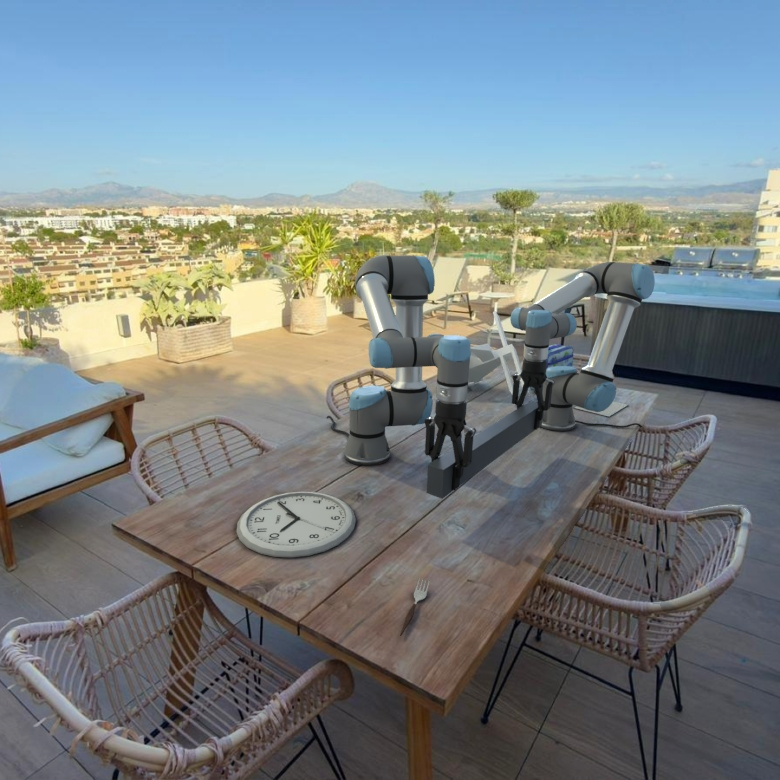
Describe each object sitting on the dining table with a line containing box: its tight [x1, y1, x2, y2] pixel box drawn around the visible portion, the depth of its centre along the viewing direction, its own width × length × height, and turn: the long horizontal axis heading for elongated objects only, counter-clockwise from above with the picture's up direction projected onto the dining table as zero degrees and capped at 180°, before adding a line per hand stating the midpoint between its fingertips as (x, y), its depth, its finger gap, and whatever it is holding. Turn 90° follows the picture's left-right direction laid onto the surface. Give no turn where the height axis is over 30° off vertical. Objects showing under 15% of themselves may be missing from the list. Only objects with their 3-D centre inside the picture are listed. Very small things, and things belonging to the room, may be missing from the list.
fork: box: [399, 577, 431, 637], centre depth 104 cm, size 3×16×2 cm, turn 160°
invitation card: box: [573, 400, 629, 418], centre depth 226 cm, size 21×1×15 cm
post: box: [426, 400, 542, 500], centre depth 154 cm, size 64×5×8 cm, turn 143°
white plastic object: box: [468, 310, 531, 397], centre depth 245 cm, size 37×45×31 cm
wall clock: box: [236, 491, 357, 558], centre depth 134 cm, size 30×2×30 cm
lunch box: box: [529, 344, 574, 391], centre depth 247 cm, size 26×11×21 cm, turn 134°
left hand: (446, 484), depth 135 cm, fingers closed on post, 5 cm apart
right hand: (528, 426), depth 175 cm, fingers closed on post, 5 cm apart
